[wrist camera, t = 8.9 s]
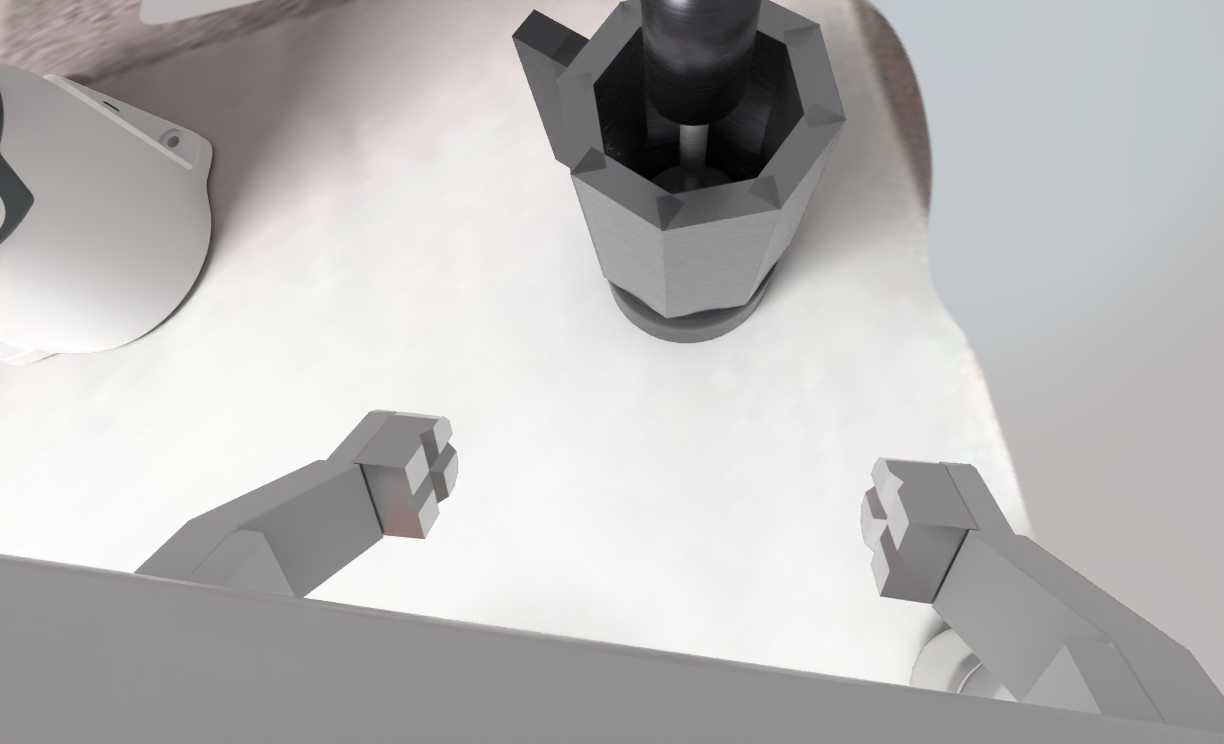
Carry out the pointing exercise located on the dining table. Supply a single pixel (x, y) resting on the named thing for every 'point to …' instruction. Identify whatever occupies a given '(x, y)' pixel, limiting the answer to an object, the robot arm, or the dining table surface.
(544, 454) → the dining table surface
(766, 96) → the press carafe
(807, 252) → the dining table surface
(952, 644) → the plastic bottle
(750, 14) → the plunger
